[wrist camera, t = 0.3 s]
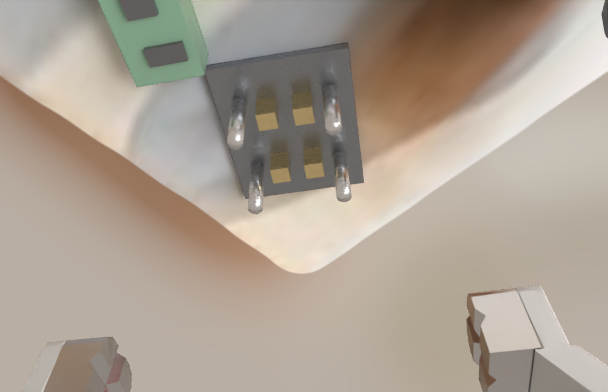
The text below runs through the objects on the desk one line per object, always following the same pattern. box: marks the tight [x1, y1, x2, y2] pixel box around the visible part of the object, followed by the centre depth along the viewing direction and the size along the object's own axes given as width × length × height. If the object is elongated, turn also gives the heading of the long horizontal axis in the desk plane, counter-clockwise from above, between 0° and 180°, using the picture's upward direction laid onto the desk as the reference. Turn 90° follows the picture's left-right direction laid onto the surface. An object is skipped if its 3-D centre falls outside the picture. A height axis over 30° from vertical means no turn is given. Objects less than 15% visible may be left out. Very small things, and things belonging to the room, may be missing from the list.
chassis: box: [205, 43, 364, 214], centre depth 52 cm, size 16×13×7 cm
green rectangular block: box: [98, 0, 209, 87], centre depth 45 cm, size 10×6×5 cm, turn 11°
